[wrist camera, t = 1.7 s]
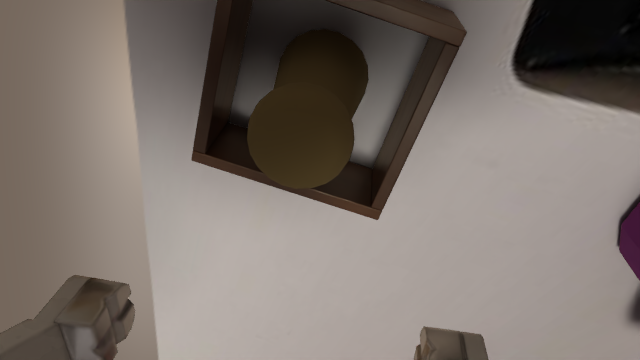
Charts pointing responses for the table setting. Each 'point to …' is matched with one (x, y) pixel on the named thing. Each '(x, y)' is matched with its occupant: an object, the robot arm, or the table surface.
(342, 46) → the cork
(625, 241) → the mug
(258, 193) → the table surface
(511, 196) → the table surface
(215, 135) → the box
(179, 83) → the table surface
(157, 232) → the table surface
